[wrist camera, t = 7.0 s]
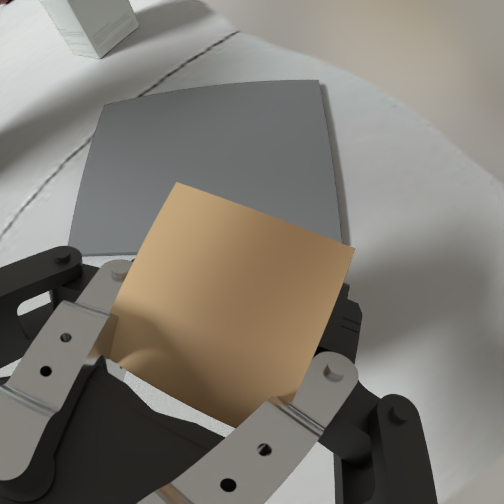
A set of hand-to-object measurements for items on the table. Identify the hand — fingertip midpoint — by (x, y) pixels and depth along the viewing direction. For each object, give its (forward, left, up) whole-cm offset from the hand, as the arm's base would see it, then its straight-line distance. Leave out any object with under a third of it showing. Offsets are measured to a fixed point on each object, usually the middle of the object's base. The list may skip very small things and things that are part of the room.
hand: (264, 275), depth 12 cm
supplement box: (-21, +33, -9) cm, 40 cm away
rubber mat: (-6, +11, -8) cm, 15 cm away
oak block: (-1, -2, -4) cm, 5 cm away
